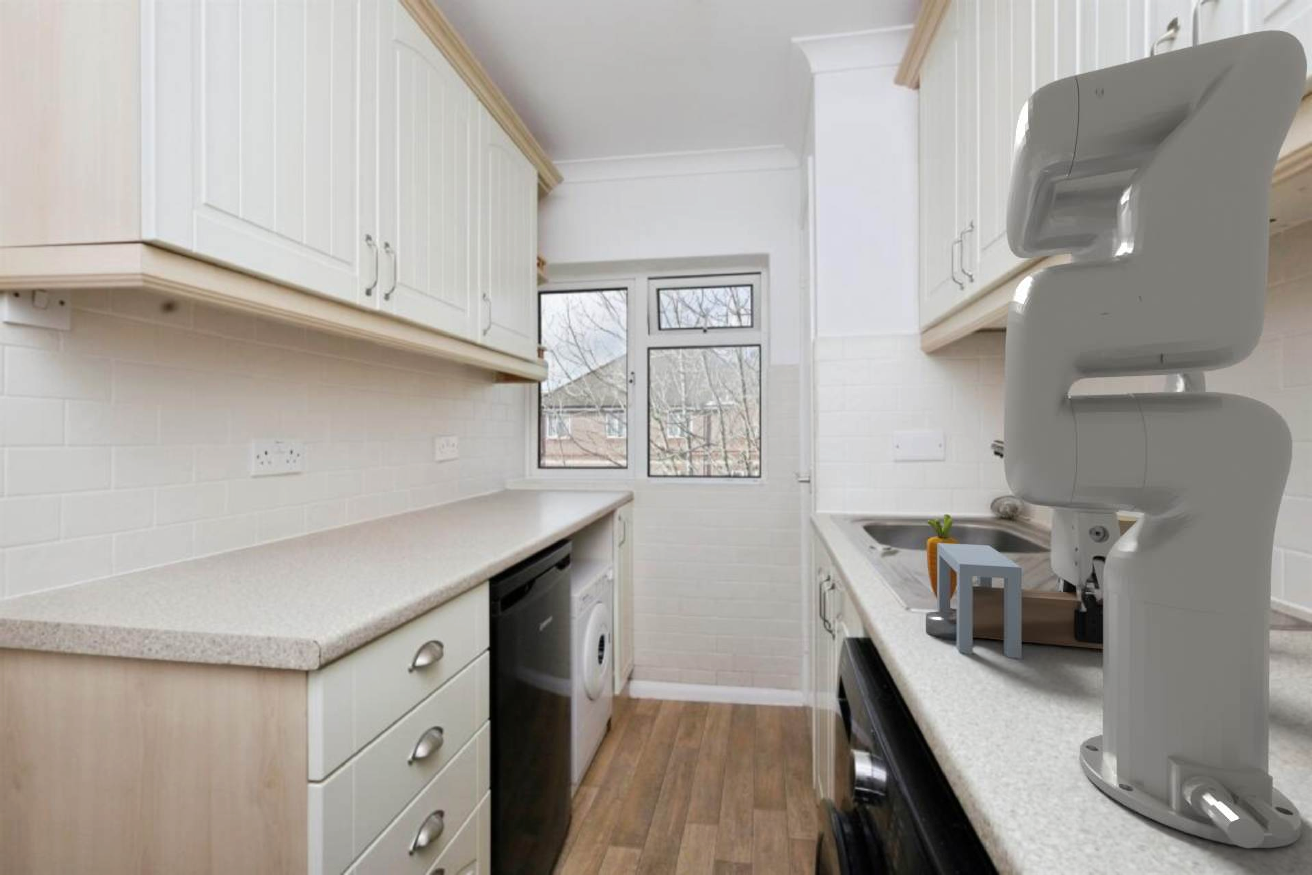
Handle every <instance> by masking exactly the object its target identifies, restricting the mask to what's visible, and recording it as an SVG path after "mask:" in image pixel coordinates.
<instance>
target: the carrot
mask: <svg viewBox="0 0 1312 875" xmlns="http://www.w3.org/2000/svg"><path fill="white" fill-rule="evenodd" d="M926 523H927V524H928V525H930V526H931V527H932V528H933V530H934V531H935V533H936V535H937V536H932V537H930V538H929V539H927V540H926V562H927V563H926V564H927V572H928V577H929V581H930V587H931V589H932V591H933V594H934V596H935V598H936V599H937V543H948V544H961V543H960V542H959V541H958V540H956V539H955V538H954V537H950V536H949V534H950V530H951V527H952V525H953V524H954V521H953V519H951V516H950V514H946V513H945V514H944V515H943V526H942V523H941V522H940V520H939V518H936V519H934V521H933V520H932V519H929V520H927V522H926ZM956 591H957V572H956V571H955V570H954V569H953V568H952V567H951V566H950V601H951V600H952V598H953V597H954V594H955V592H956Z"/></svg>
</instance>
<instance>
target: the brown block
mask: <svg viewBox="0 0 1312 875" xmlns="http://www.w3.org/2000/svg"><path fill="white" fill-rule="evenodd" d="M1093 594H1094V593H1087V592H1086V593H1085V596H1086V599H1087V597H1088V596H1089V595H1093ZM1075 610H1078V603H1077V593H1071V592H1059V591H1054V590H1039V589H1024V588H1022V608H1021V642H1025V643H1036V644H1046V645H1057V646H1066V647H1068V646H1069V647H1077V648H1078V647H1081V648H1088V649H1089V648H1092V649H1100V650H1101V649H1102V650H1103V644H1095V643H1084V642H1078V641H1077V640H1075V638H1074V611H1075ZM972 638H979V639H980V638H982V639H988V640H990V639H993V640H1001V641H1002V640H1003V641H1004V587H993V586H992V587H981V586H978V585H973V596H972Z"/></svg>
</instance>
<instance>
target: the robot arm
mask: <svg viewBox="0 0 1312 875" xmlns="http://www.w3.org/2000/svg"><path fill="white" fill-rule="evenodd" d="M1307 72H1308V59H1307V56H1306V53H1305V48H1304V47H1303V44H1302V42H1300V39H1298V38H1297V37H1296V36H1295V35H1293V34H1291V32H1287V31H1284V30H1272V29H1271V30H1261V31H1256V32H1255V31H1254V32H1250V33H1249V32H1248V33H1245V34H1240V35H1235V36H1231V37H1226V38H1222V39H1217V40H1212V41H1209V42H1204V43H1201V44H1196V45H1191V46H1187V47H1183V48H1180V49H1175V50H1170V51H1168V52H1167V51H1166V52H1162V53H1158V54H1155V55H1151V56H1148V57H1143V58H1141V59H1137V60H1134V61H1130V62H1125V63H1120V64H1117V65H1111V66H1109V67H1104V68H1100V69H1096V70H1095V69H1094V70H1092V71H1088V72H1083V73H1079V74H1076V75H1071V76H1066V77H1064V78H1060V79H1057V80H1054V81H1052V82H1049V83H1047V84H1045V85H1043V86H1041V87H1039V88H1038V89H1037V90H1036V91H1035V92H1033V93H1032V94H1031V95H1030V96H1029V98H1028V99H1027V101H1025V104H1024V105H1023V106H1022V109H1021V112H1020V114H1019V119H1018V121H1017V125H1016V132H1015V139H1014V148H1013V156H1012V162H1011V173H1010V179H1009V184H1008V185H1009V186H1008V193H1007V194H1008V195H1007V202H1006V217H1005V218H1006V219H1005V222H1006V223H1005V224H1006V225H1005V226H1006V227H1005V229H1006V237H1007V239H1006V240H1007V244H1008V246H1009V249H1010V251H1011V252H1012V254H1013V255H1014V256H1015V257H1017V258H1019V259H1033V258H1034V259H1035V258H1044V257H1050V256H1060V255H1070V262H1067V263H1062V264H1056V265H1055V264H1054V265H1052V266H1051V265H1050V266H1047V267H1042V268H1041V269H1037V270H1035V271H1033V272H1032V273H1030V274H1029V275H1028V276H1026V277H1025V278H1024V279H1023V280H1021V281H1020V283H1019V285H1018V286H1017V287H1016V289H1015V291H1014V293H1013V296H1012V299H1011V301H1010V305H1009V308H1008V309H1009V310H1008V313H1007V321H1006V332H1005V350H1004V351H1005V354H1004V355H1005V356H1004V357H1005V358H1004V360H1005V361H1004V368H1005V369H1004V407H1003V409H1004V414H1003V415H1004V416H1003V420H1004V421H1003V465H1004V466H1003V467H1004V473H1005V478H1006V483H1007V485H1008V487H1009V490H1010V491H1011V493H1012V494H1013V496H1015V497H1016V498H1017V499H1019V500H1020V501H1022V502H1025V503H1028V504H1031V505H1034V506H1040V507H1047V508H1048V509H1052V518H1051V527H1050V529H1051V530H1050V531H1051V532H1050V565H1051V570H1052V571H1053V572H1054V574H1056V575H1057V576H1058V581H1057V582H1058V583H1059V585H1058V592H1071V593H1077V603H1078V610H1075V611H1074V638H1075V640H1077V641H1078V642H1084V643H1095V644H1103V649H1102V734H1100V735H1095V736H1092V737H1090V738H1088V739H1086V740H1084V741H1083V742H1082V743H1081V745H1080V746H1079V764H1080V767H1081V769H1082V771H1083V772H1084V774H1085V775H1086V777H1087V778H1088V779H1089V780H1090V781H1091V782H1092V783H1093V784H1095V786H1096V787H1098V789H1100V790H1101V791H1103V793H1105V795H1108V796H1109V797H1111V798H1112V799H1114V800H1115V801H1117V802H1119V803H1120V804H1122V805H1123V806H1126V807H1127V808H1129V809H1131V810H1132V811H1134V812H1136V813H1139V814H1140V815H1141V816H1144V817H1146V818H1149V819H1151V820H1153V821H1155V822H1158V823H1159V824H1162V825H1164V826H1167V827H1170V828H1172V829H1174V830H1177V831H1180V832H1183V833H1186V834H1190V835H1192V836H1196V837H1199V838H1202V839H1206V840H1210V841H1214V842H1219V843H1222V844H1226V845H1230V846H1231V845H1232V846H1238V847H1241V848H1244V849H1253V848H1257V849H1259V848H1262V849H1272V848H1280V847H1285V846H1290V844H1293V843H1295V842H1297V841H1298V839H1299V838H1300V836H1301V835H1302V833H1301V832H1302V817H1301V815H1300V811H1299V810H1298V809H1297V807H1296V806H1295V804H1294V803H1293V802H1292V801H1291V799H1289V798H1288V797H1287V796H1286V795H1285V794H1283V793H1282V792H1281V791H1280V790H1279V789H1278V788H1276V787H1274V778H1273V776H1272V775H1270V774H1269V768H1270V767H1269V766H1270V765H1269V763H1270V762H1269V760H1270V759H1269V758H1270V757H1269V755H1270V754H1269V750H1270V749H1269V747H1270V742H1269V741H1270V643H1271V641H1270V637H1271V636H1270V633H1271V632H1270V631H1271V630H1270V628H1271V627H1270V626H1271V624H1270V623H1271V614H1270V613H1271V601H1272V599H1271V598H1272V595H1271V594H1272V593H1271V592H1272V567H1273V566H1272V565H1273V564H1272V562H1273V552H1274V551H1273V550H1274V543H1275V542H1274V540H1275V532H1276V526H1277V522H1278V516H1279V511H1280V506H1281V502H1282V499H1283V495H1284V493H1285V488H1286V485H1287V482H1288V478H1289V475H1290V474H1289V473H1290V472H1291V471H1290V470H1291V465H1292V460H1293V436H1292V433H1291V430H1290V427H1289V425H1288V424H1287V422H1286V420H1285V418H1284V417H1283V416H1282V415H1281V414H1280V413H1279V412H1278V411H1277V410H1275V408H1273V407H1272V406H1270V405H1269V404H1267V403H1264V402H1262V401H1260V400H1258V399H1255V398H1253V397H1252V398H1251V397H1248V396H1244V395H1240V394H1235V393H1226V392H1218V391H1217V392H1216V391H1206V390H1207V389H1206V386H1207V385H1206V377H1205V372H1207V373H1208V372H1213V371H1218V370H1222V369H1226V368H1231V367H1233V366H1235V365H1237V364H1240V363H1241V362H1243V361H1245V360H1247V359H1248V358H1249V357H1250V356H1251V355H1252V353H1253V352H1254V350H1255V349H1256V348H1257V347H1258V344H1259V342H1260V339H1261V337H1262V335H1263V334H1262V333H1263V330H1264V324H1265V319H1266V307H1267V296H1268V295H1267V293H1268V276H1269V275H1268V272H1269V254H1270V253H1269V250H1270V222H1271V190H1272V183H1273V175H1274V170H1275V167H1276V164H1277V161H1278V158H1279V154H1280V152H1281V149H1282V147H1283V144H1284V143H1285V141H1286V139H1287V136H1288V133H1289V132H1290V128H1291V127H1292V124H1293V122H1294V120H1295V118H1296V116H1297V113H1298V110H1299V108H1300V106H1301V103H1302V100H1303V97H1304V93H1305V90H1306V89H1305V88H1306V84H1307V83H1306V82H1307V74H1308V73H1307ZM1144 376H1145V377H1147V376H1149V377H1150V376H1165V382H1164V388H1163V392H1162V391H1161V392H1159V391H1158V392H1129V393H1128V392H1127V393H1120V394H1119V393H1118V394H1117V393H1116V394H1086V395H1085V394H1083V395H1081V394H1080V395H1079V394H1077V395H1075V394H1073V395H1069V392H1070V389H1071V388H1072V386H1073V385H1074V383H1076V382H1077V381H1080V380H1082V379H1093V378H1118V377H1119V378H1120V377H1144ZM1120 511H1121V512H1122V511H1125V512H1130V513H1140V514H1142V516H1141V517H1139V518H1140V519H1139V520H1138V521H1137V522H1136V523H1135V524H1134V525H1133V526H1132V527H1131V528H1130V529H1128V530H1127V531H1126V532H1125V533H1124V534H1123V535H1122V536H1121V535H1120V528H1119V523H1118V518H1117V515H1118V514H1117V513H1119V512H1120ZM1088 584H1093V585H1094V586H1093V587H1092V586H1088ZM1085 593H1086V594H1087V593H1092V594H1093V595H1089V596H1088V597H1087V599H1086V596H1085Z"/></svg>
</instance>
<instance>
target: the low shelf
mask: <svg viewBox="0 0 1312 875" xmlns="http://www.w3.org/2000/svg"><path fill="white" fill-rule="evenodd" d="M950 566H951V567H952V568H953V569H954V570H955V571H956V572H957V586H956V615H957V641H956V649H957V651H958V653H961V654H969V655H972V654H973V637H972V596H973V586H974V585H973V581H974V580H973V579H974V578H973V577H975V578H976V577H977V586H981V587H993V585H992V584H993V582H992V580H993V579H995V578H997V579H1003V588H1004V640H1003V653H1004V655H1005V656H1006V657H1007V658H1010V659H1011V658H1012V659H1020V660H1021V659H1022V641H1021V608H1022V589H1023V588H1022V587H1023V584H1022V578H1023V577H1022V576H1023V574H1022V573H1023V572H1022V571H1023V570H1022V566H1020V565H1019V564H1017V563H1015V562H1014V561H1013V560H1011V559H1010V558H1009V557H1007V556H1006V555H1003V553H1001V552H999V551H998V550H996V549H995V548H993V547H992V546H990V545H985V544H984V545H983V544H967V543H960V544H948V543H937V598H936V601H937V605H936V607H937V609H936V610H937V611H936V612H947V613H951V600H950ZM992 578H993V579H992Z"/></svg>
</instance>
